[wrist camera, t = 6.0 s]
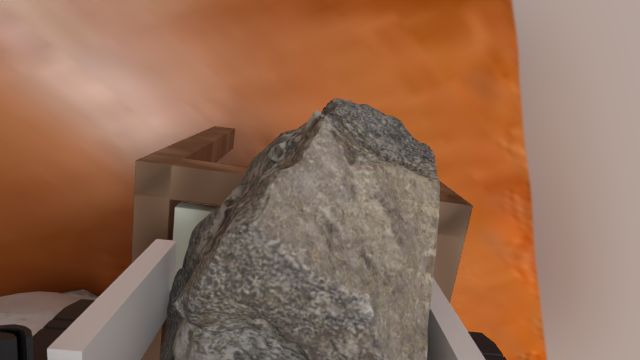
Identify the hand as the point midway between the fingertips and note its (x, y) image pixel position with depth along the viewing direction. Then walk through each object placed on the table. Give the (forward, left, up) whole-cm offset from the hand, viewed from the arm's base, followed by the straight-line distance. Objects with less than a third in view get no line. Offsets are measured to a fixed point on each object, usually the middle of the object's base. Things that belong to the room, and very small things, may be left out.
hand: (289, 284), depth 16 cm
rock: (0, 0, -1) cm, 1 cm away
